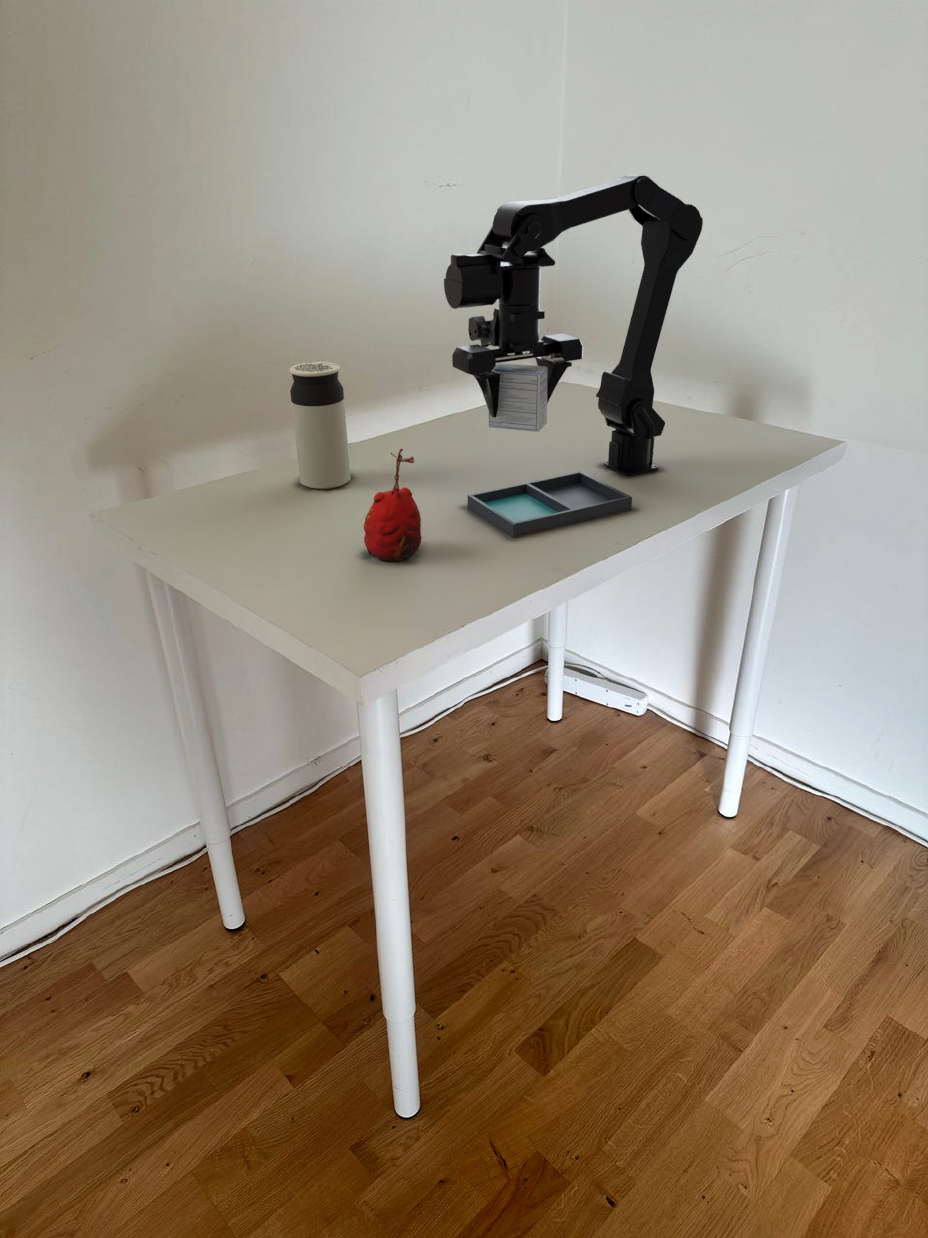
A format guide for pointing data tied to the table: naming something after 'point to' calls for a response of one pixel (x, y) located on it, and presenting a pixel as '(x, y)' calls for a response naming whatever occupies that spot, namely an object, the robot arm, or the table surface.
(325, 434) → the travel mug
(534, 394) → the medicine box
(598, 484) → the organiser tray
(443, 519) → the table surface
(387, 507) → the red lumpy rounded piece
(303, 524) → the table surface
